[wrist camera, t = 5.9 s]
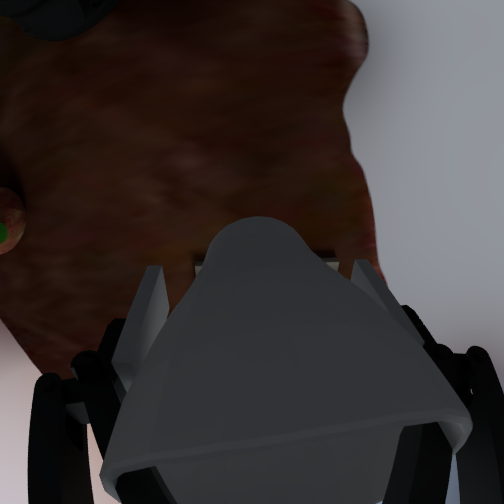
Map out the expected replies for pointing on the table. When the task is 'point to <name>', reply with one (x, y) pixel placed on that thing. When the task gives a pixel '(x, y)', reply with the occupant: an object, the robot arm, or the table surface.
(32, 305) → the table surface
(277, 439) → the cup
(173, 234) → the table surface
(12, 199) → the fruit
